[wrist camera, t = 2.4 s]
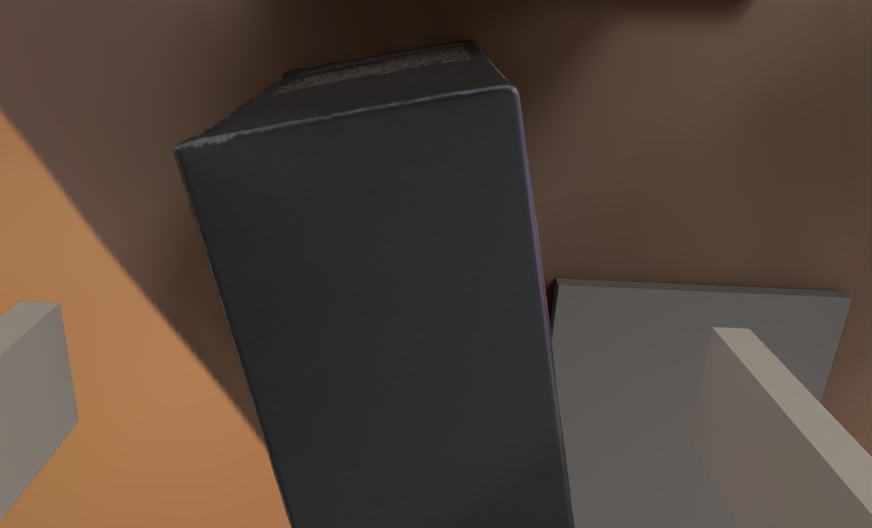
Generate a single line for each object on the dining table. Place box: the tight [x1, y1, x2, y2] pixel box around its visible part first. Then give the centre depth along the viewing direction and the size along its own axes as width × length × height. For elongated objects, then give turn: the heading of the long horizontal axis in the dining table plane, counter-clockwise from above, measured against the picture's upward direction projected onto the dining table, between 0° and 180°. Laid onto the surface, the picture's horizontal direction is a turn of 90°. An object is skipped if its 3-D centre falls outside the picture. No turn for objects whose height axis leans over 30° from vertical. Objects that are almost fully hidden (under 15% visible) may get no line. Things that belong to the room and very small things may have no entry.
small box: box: [174, 40, 575, 528], centre depth 18 cm, size 11×6×10 cm, turn 10°
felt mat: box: [550, 278, 853, 528], centre depth 26 cm, size 10×12×1 cm
